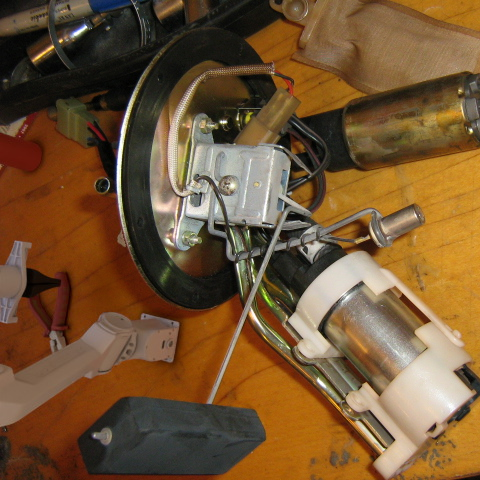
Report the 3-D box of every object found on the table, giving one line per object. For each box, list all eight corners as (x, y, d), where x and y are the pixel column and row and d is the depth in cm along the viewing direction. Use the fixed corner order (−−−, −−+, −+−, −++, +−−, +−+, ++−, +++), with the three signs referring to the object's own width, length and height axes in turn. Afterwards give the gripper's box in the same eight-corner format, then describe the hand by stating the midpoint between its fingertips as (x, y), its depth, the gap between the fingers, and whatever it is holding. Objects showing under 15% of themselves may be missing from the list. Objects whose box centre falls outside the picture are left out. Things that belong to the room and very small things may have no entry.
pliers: (49, 373, 102) (38, 375, 100) (33, 288, 107) (22, 287, 104) (86, 357, 99) (76, 359, 96) (68, 270, 103) (57, 269, 101)
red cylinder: (44, 143, 110) (-3, 128, 100) (39, 172, 110) (-9, 160, 100) (24, 142, 113) (-24, 127, 103) (19, 170, 113) (-30, 158, 102)
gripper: (-23, 235, 79) (49, 243, 91) (-39, 319, 78) (36, 315, 91) (4, 240, 76) (75, 247, 89) (-12, 327, 76) (61, 322, 88)
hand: (57, 282), depth 90 cm, fingers closed
